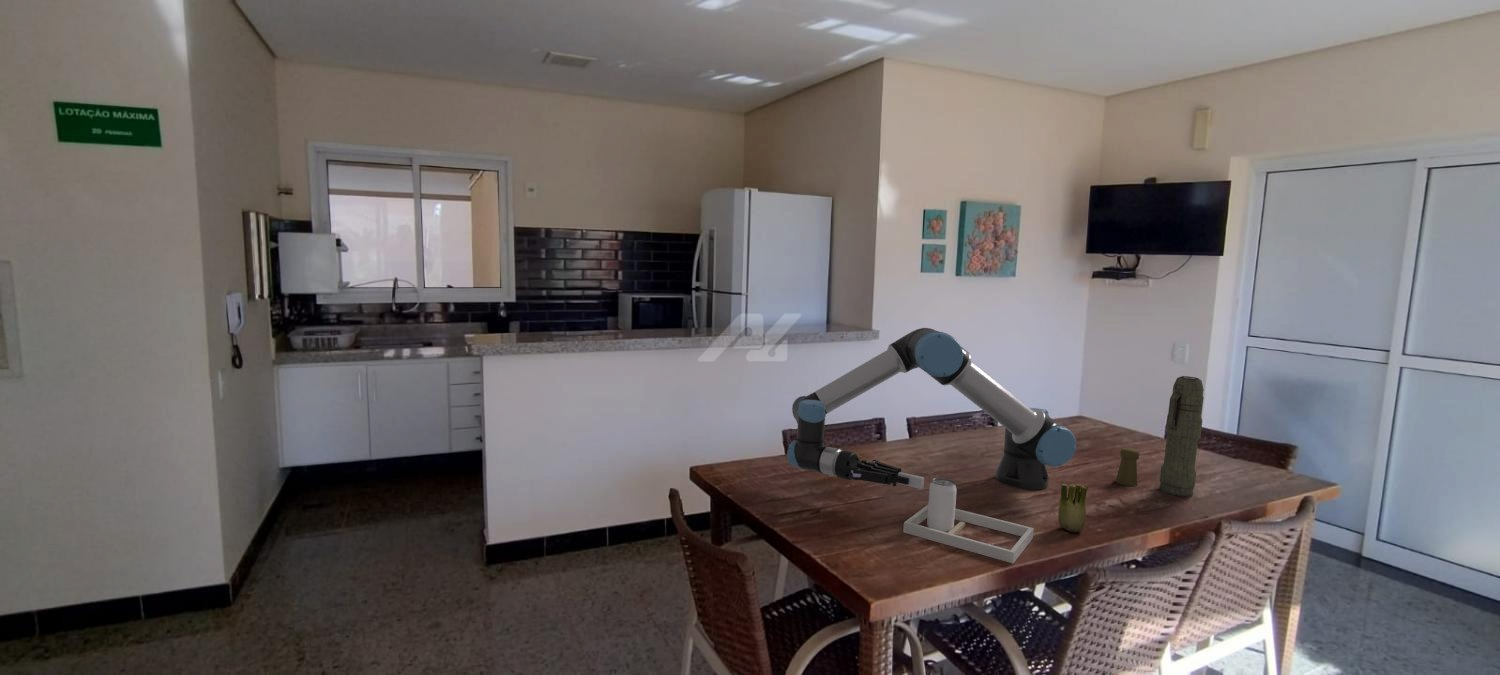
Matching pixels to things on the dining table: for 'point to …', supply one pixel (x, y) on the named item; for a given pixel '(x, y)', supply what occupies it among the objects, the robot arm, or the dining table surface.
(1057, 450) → the robot arm
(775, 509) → the dining table surface
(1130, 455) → the olive tapered pillar
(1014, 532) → the frame
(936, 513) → the can
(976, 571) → the dining table surface
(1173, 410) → the thermos
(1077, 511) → the fennel bulb
